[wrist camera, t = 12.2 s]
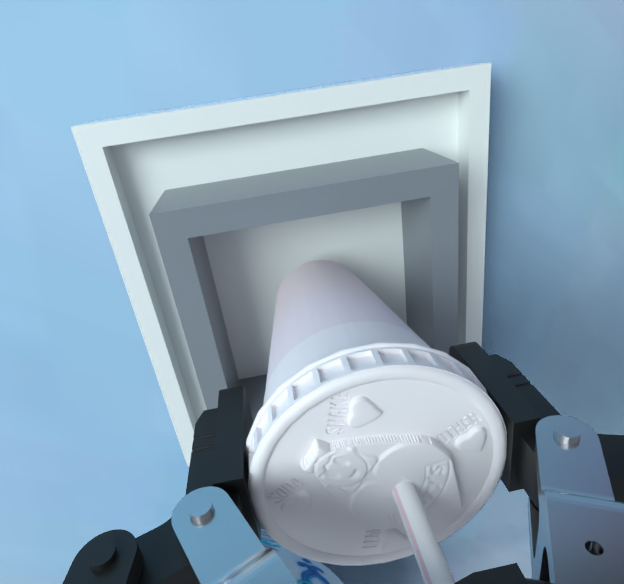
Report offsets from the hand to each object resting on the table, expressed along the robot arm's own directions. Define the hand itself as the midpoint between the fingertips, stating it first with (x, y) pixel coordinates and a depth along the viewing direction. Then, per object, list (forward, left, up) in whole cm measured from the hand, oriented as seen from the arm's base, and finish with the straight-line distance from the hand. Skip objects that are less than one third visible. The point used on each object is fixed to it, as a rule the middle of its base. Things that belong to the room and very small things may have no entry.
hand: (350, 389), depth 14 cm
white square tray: (0, 0, -9) cm, 9 cm away
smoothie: (0, 0, -6) cm, 6 cm away
